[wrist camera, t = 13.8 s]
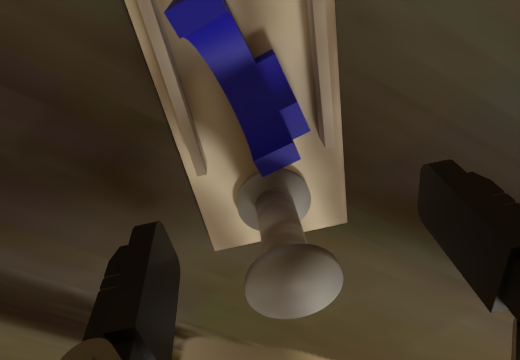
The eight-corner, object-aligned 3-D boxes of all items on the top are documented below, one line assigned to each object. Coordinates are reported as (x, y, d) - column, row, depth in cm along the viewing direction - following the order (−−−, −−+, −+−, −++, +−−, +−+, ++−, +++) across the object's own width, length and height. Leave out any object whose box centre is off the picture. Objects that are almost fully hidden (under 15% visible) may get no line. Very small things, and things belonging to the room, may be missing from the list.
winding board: (321, -105, 23) (409, -147, 13) (342, 213, 38) (390, 309, 28) (109, -58, 23) (28, -61, 13) (215, 241, 38) (215, 347, 28)
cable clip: (302, 115, 29) (320, 149, 24) (254, 139, 30) (262, 177, 25) (233, -37, 23) (239, -32, 18) (174, -2, 24) (163, 12, 19)
